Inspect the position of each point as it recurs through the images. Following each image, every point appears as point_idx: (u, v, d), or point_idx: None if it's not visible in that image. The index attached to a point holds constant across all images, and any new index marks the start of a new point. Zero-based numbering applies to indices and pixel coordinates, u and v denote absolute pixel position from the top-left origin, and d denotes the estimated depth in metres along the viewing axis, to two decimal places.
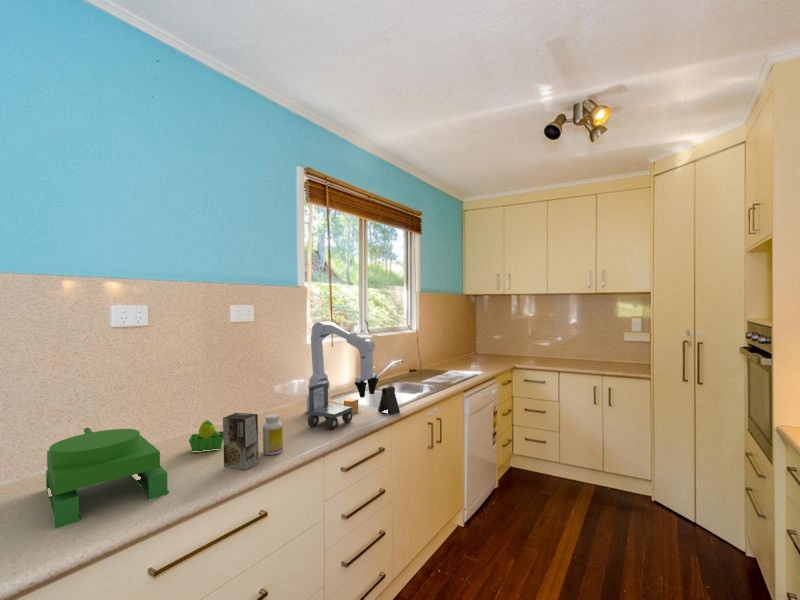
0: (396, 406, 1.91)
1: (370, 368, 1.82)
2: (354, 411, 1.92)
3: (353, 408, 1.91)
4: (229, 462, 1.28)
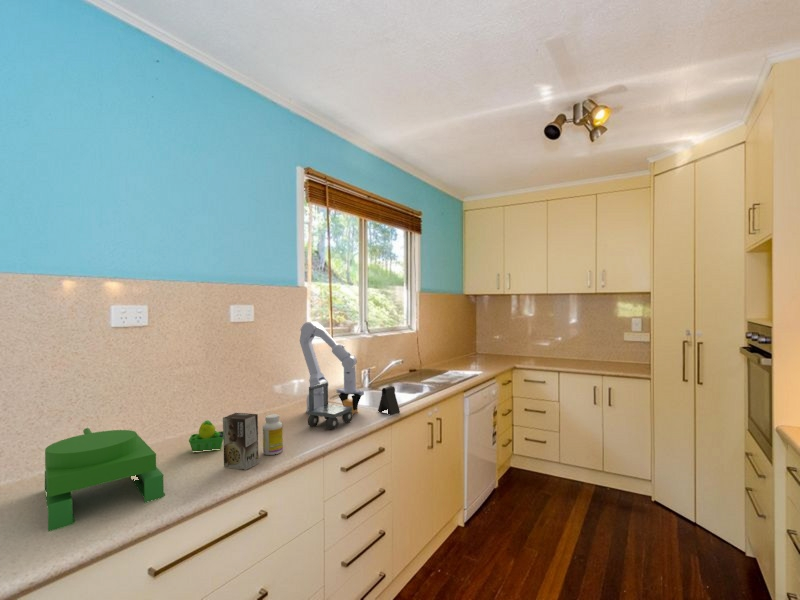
0: (396, 406, 1.91)
1: (345, 383, 1.91)
2: (353, 411, 1.91)
3: (352, 408, 1.91)
4: (229, 462, 1.28)
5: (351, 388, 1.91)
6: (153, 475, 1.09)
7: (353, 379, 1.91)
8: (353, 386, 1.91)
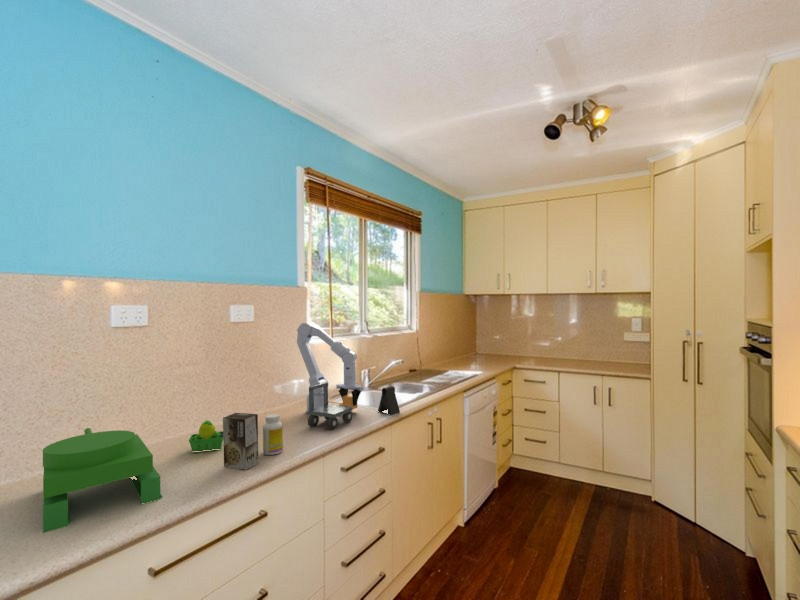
0: (396, 406, 1.91)
1: (345, 379, 1.91)
2: (353, 407, 1.91)
3: (352, 404, 1.91)
4: (229, 462, 1.28)
5: (351, 383, 1.91)
6: (150, 477, 1.08)
7: (353, 374, 1.92)
8: (353, 381, 1.91)
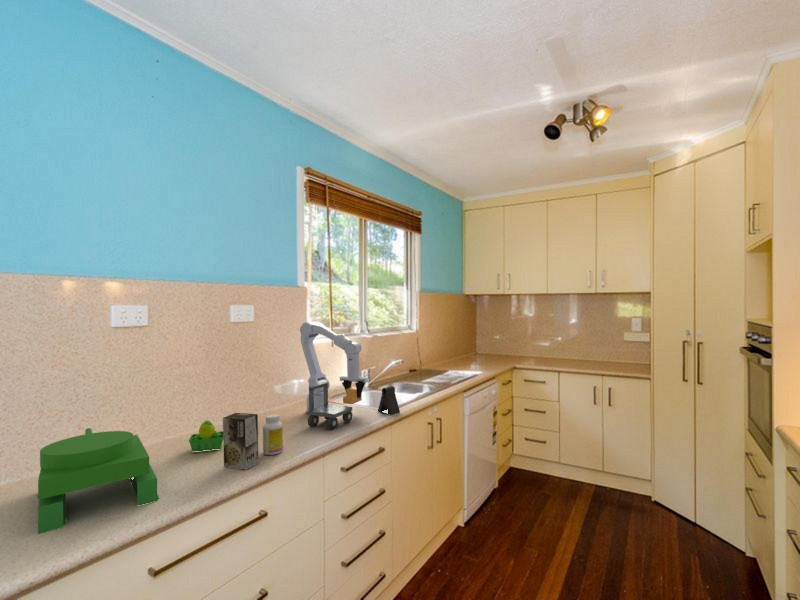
0: (396, 406, 1.91)
1: (348, 370, 1.86)
2: (357, 399, 1.86)
3: (356, 396, 1.86)
4: (229, 462, 1.28)
5: (355, 375, 1.86)
6: (147, 478, 1.07)
7: (355, 366, 1.86)
8: (357, 373, 1.86)
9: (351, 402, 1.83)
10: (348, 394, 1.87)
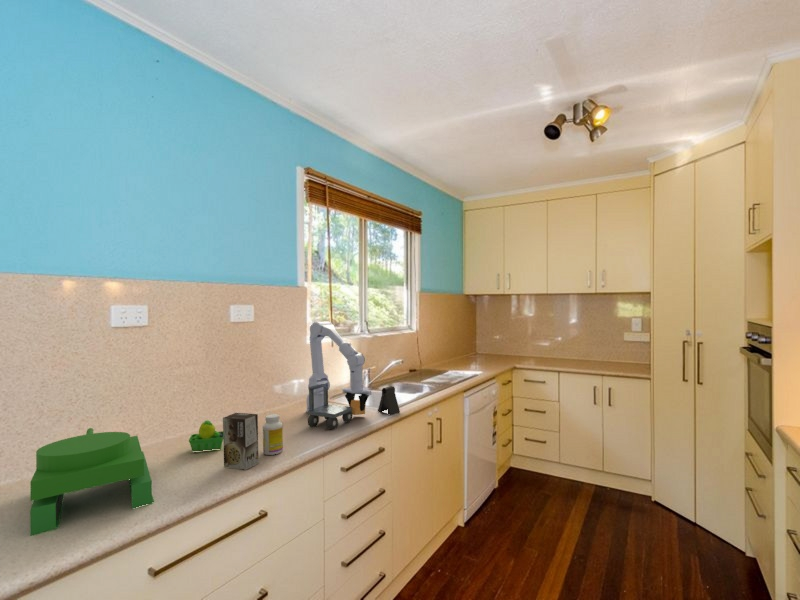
0: (396, 406, 1.91)
1: (351, 383, 1.82)
2: (361, 412, 1.82)
3: None
4: (229, 462, 1.28)
5: (358, 388, 1.82)
6: (142, 481, 1.05)
7: (358, 379, 1.82)
8: (360, 386, 1.82)
9: (354, 412, 1.79)
10: (352, 405, 1.83)
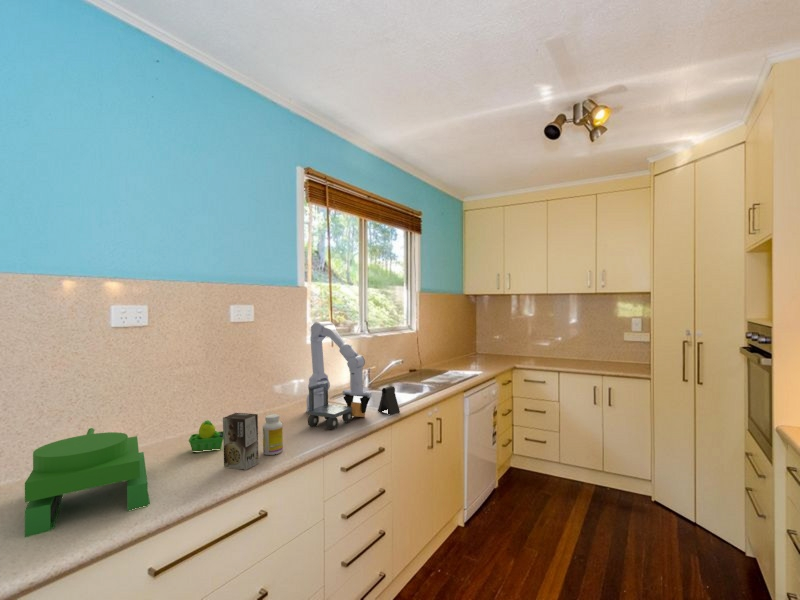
0: (396, 406, 1.91)
1: (351, 385, 1.82)
2: (360, 414, 1.82)
3: (360, 410, 1.82)
4: (229, 462, 1.28)
5: (358, 390, 1.82)
6: (138, 482, 1.04)
7: (358, 381, 1.82)
8: (360, 388, 1.82)
9: (354, 414, 1.79)
10: (352, 407, 1.83)
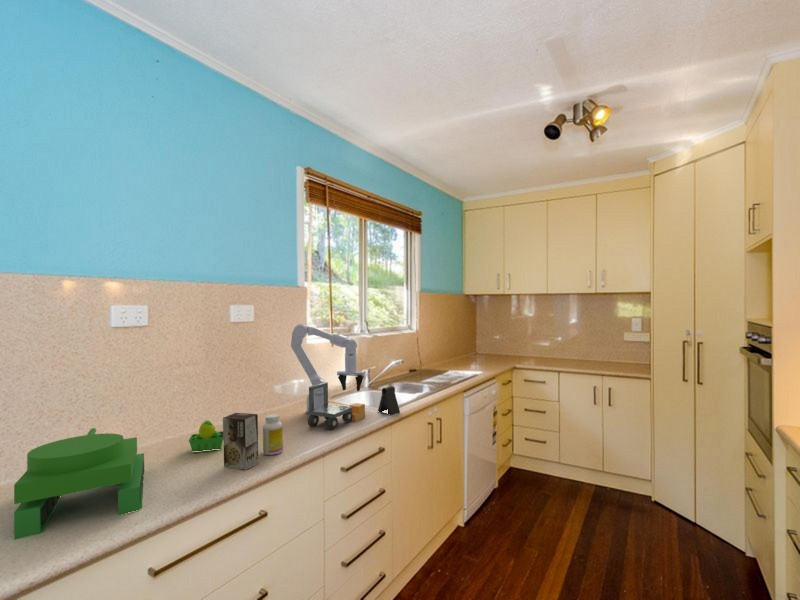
0: (396, 406, 1.91)
1: (346, 365, 1.97)
2: (360, 416, 1.82)
3: (359, 413, 1.82)
4: (229, 462, 1.28)
5: (353, 369, 1.97)
6: (129, 486, 1.02)
7: (355, 361, 1.99)
8: (355, 368, 1.98)
9: (354, 419, 1.78)
10: (351, 411, 1.83)
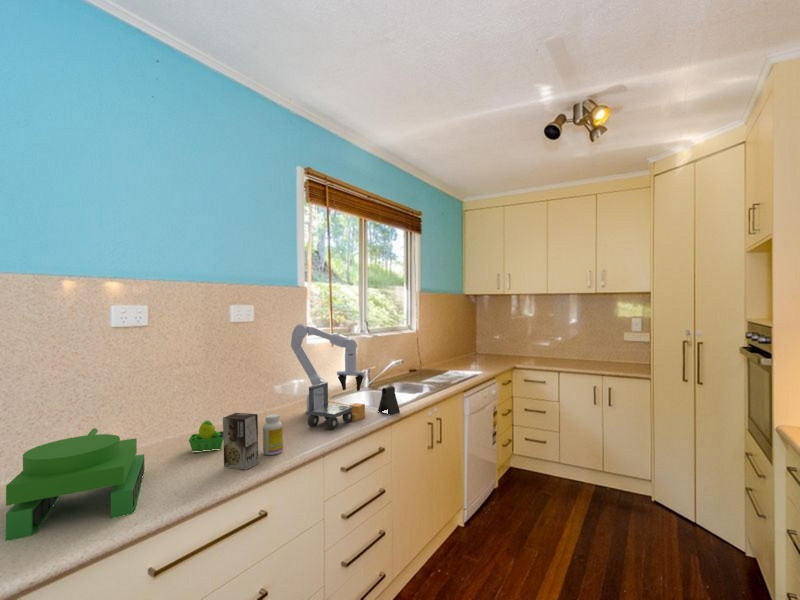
0: (396, 406, 1.91)
1: (346, 365, 1.97)
2: (360, 416, 1.82)
3: (359, 413, 1.82)
4: (229, 462, 1.28)
5: (353, 369, 1.97)
6: (123, 489, 1.01)
7: (355, 361, 1.99)
8: (355, 368, 1.98)
9: (354, 419, 1.78)
10: (351, 411, 1.83)
